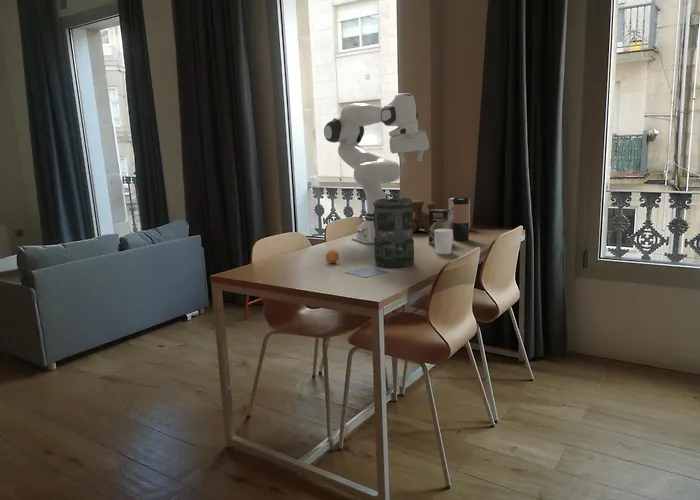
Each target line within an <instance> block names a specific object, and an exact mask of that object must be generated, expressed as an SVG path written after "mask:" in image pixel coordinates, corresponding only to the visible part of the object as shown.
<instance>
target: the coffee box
mask: <svg viewBox="0 0 700 500" xmlns="http://www.w3.org/2000/svg"><path fill="white" fill-rule="evenodd" d="M428 212H429V233H428V245H433V246H435V239H434V230H436V229H450V210H448V208H447V209H445V208H444V209H443V208H442V209H440V208H438V209H437V208H435V209H431V210H429V209H428Z"/></svg>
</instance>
